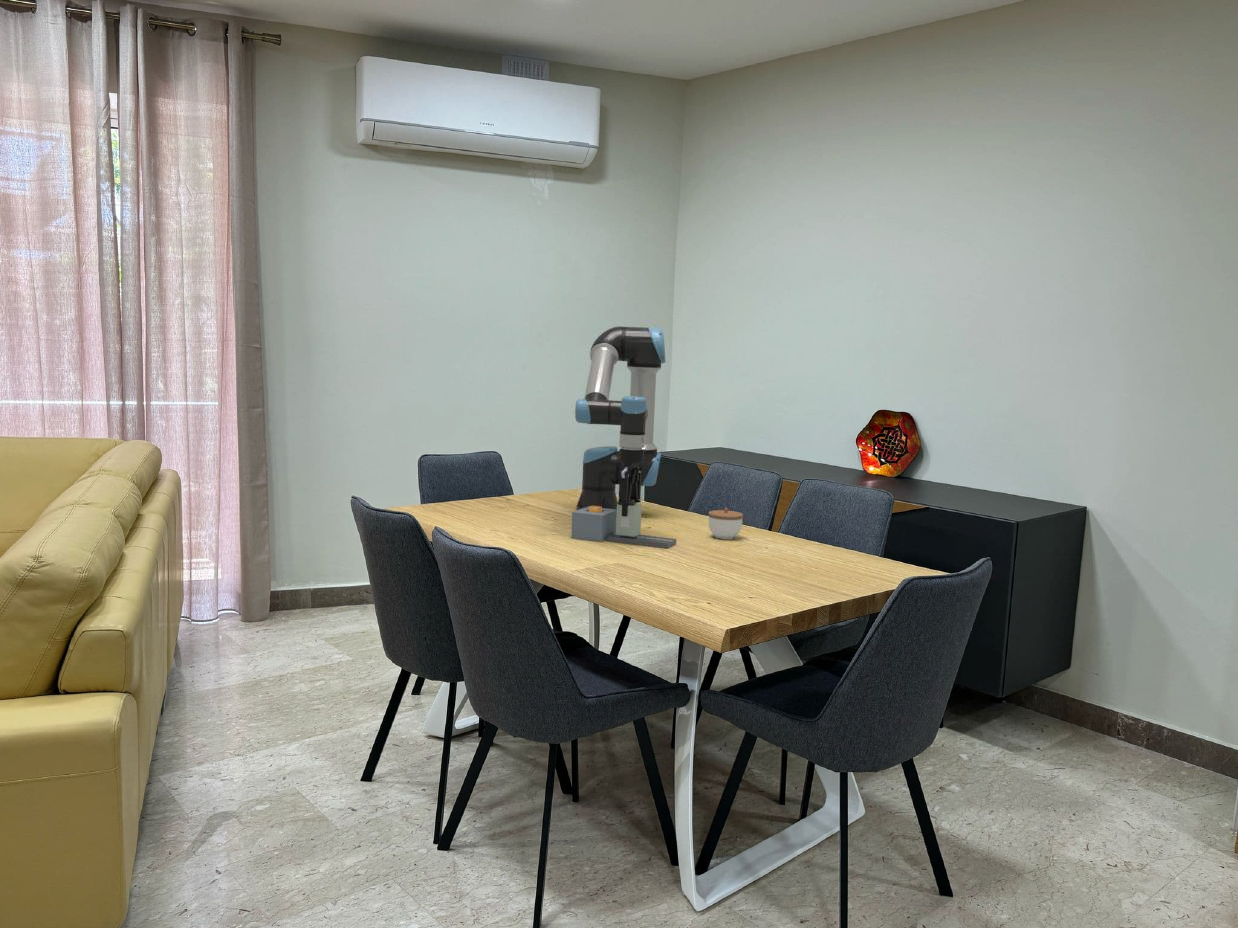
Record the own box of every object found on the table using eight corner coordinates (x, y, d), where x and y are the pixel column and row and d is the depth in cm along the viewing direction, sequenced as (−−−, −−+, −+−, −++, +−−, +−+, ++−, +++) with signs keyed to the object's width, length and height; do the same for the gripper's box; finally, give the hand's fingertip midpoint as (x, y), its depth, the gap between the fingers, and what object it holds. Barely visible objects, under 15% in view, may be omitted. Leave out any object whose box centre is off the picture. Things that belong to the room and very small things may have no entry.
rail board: (607, 541, 281) (607, 535, 281) (617, 536, 288) (617, 531, 288) (667, 548, 274) (667, 543, 274) (676, 543, 281) (676, 538, 281)
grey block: (571, 538, 283) (572, 511, 282) (587, 531, 294) (588, 506, 293) (601, 541, 279) (602, 515, 278) (616, 535, 290) (617, 509, 289)
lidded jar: (743, 541, 289) (745, 511, 288) (708, 540, 289) (710, 510, 288) (739, 535, 300) (741, 506, 298) (706, 533, 300) (707, 504, 299)
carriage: (615, 534, 281) (617, 499, 280) (621, 531, 286) (623, 497, 285) (634, 536, 279) (636, 501, 278) (640, 533, 284) (641, 499, 282)
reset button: (586, 526, 285) (586, 507, 284) (591, 524, 289) (592, 505, 288) (598, 527, 284) (598, 508, 283) (603, 525, 287) (604, 506, 287)
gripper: (633, 452, 270) (629, 531, 272) (653, 447, 286) (650, 522, 289) (608, 449, 272) (605, 528, 275) (630, 445, 289) (627, 519, 292)
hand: (628, 525), depth 282 cm, fingers closed on carriage, 5 cm apart
